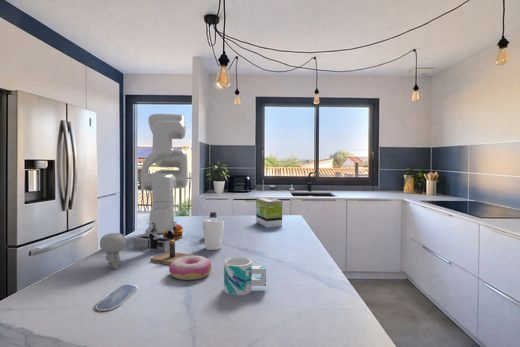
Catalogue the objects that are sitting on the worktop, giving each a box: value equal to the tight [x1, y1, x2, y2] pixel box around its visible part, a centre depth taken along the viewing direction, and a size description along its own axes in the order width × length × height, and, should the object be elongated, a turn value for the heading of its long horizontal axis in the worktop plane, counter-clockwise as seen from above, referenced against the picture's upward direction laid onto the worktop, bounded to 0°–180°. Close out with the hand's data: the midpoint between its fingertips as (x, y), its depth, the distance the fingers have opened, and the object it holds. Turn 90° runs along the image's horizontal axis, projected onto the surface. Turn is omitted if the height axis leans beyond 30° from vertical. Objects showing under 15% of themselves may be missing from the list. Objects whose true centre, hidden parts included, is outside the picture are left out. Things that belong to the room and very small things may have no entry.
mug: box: [223, 256, 267, 296], centre depth 93 cm, size 8×12×8 cm
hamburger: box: [162, 223, 184, 241], centre depth 152 cm, size 9×10×7 cm
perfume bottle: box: [209, 211, 218, 218], centre depth 153 cm, size 6×6×12 cm
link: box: [149, 236, 176, 253], centre depth 133 cm, size 8×6×4 cm
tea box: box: [255, 197, 283, 229], centre depth 183 cm, size 15×10×15 cm, turn 25°
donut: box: [168, 255, 212, 281], centre depth 105 cm, size 14×13×5 cm
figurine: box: [99, 232, 127, 270], centre depth 110 cm, size 8×8×12 cm
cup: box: [202, 217, 225, 251], centre depth 135 cm, size 9×9×12 cm
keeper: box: [149, 240, 195, 266], centre depth 119 cm, size 12×10×7 cm
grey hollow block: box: [133, 234, 159, 251], centre depth 137 cm, size 8×6×4 cm
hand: (162, 245), depth 133 cm, fingers open, 9 cm apart
